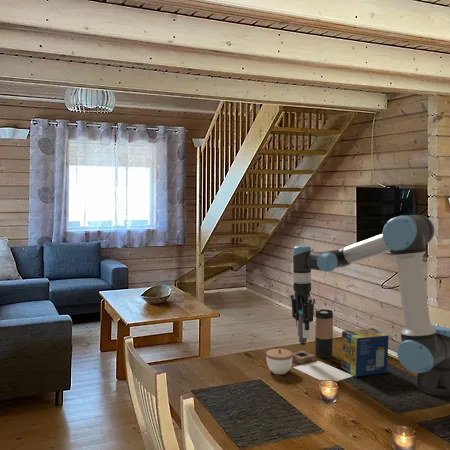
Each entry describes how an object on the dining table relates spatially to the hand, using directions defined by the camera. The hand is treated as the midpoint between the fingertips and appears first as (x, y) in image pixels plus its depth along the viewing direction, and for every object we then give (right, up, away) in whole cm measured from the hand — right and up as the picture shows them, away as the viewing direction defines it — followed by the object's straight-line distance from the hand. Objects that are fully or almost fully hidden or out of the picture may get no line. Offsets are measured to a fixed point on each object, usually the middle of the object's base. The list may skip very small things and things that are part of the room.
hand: (302, 336), depth 210 cm
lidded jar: (-11, -12, -12) cm, 20 cm away
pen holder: (0, -11, +1) cm, 11 cm away
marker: (0, -4, 0) cm, 4 cm away
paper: (+6, -12, -13) cm, 18 cm away
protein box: (+23, -12, -11) cm, 28 cm away
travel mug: (+10, -10, +7) cm, 16 cm away
